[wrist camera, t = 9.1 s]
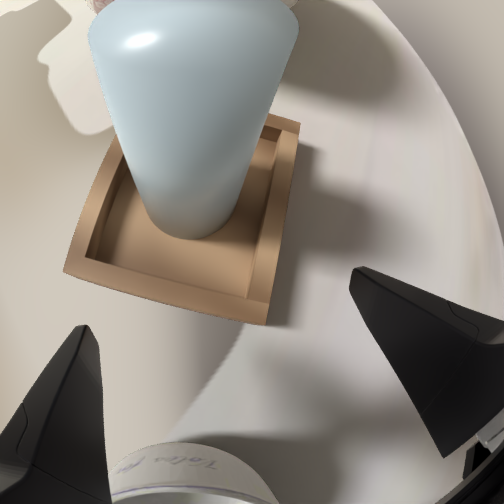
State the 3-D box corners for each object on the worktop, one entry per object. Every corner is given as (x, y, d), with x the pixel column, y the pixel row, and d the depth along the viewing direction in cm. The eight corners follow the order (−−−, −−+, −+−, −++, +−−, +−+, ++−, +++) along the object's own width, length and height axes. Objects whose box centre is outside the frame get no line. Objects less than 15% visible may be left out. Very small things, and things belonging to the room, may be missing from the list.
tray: (255, 324, 18) (265, 325, 16) (78, 278, 17) (62, 271, 14) (290, 142, 22) (300, 123, 19) (145, 109, 20) (142, 87, 18)
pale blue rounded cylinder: (254, 207, 19) (340, 43, 6) (175, 258, 17) (133, 111, 5) (204, 141, 19) (226, -30, 7) (129, 183, 18) (70, 14, 5)
